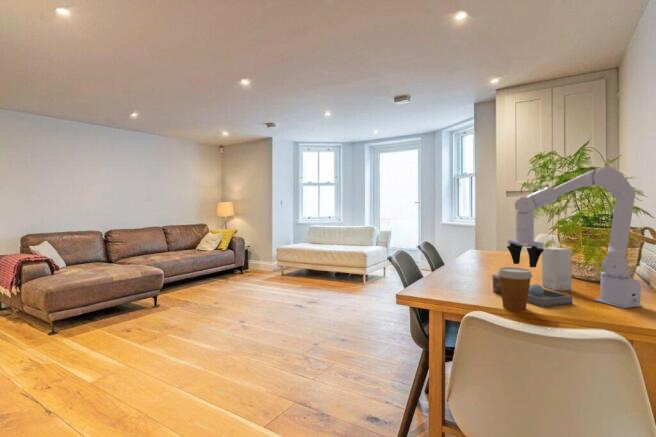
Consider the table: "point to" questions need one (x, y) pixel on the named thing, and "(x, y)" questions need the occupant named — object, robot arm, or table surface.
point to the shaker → (496, 284)
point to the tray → (550, 299)
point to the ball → (536, 290)
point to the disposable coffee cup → (514, 287)
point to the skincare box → (556, 268)
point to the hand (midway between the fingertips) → (524, 265)
